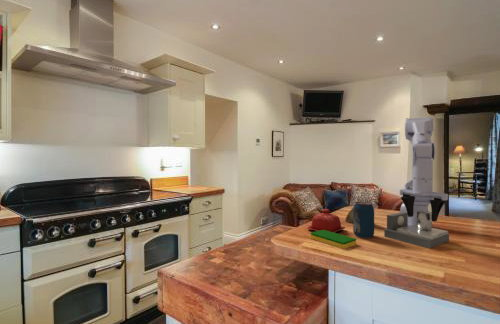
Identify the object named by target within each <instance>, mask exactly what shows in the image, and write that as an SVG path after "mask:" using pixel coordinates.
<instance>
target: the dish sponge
mask: <svg viewBox="0 0 500 324" xmlns="http://www.w3.org/2000/svg"><path fill="white" fill-rule="evenodd" d="M311 238H312V240H314V239H315V241H317V240H318V242H320V241H321V243H323V242H324V244H326V243H327V245H329V244H330V246H333V247H336V248H339V249H343V250H345V249H347V248H351V247H353V246H356V245H357V238H355V237H351V236H347V235H344V234H340V233H337V232H335V233H334V232H330V231H326V230H320V231H312V232H310V239H311Z"/></svg>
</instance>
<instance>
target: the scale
mask: <svg viewBox="0 0 500 324" xmlns="http://www.w3.org/2000/svg"><path fill="white" fill-rule="evenodd" d="M402 226H403V227H405V226H409V225H408V214H407V213H406V212H396V213H391V214H390V213H389V214H387V215H386V229H383V230H384V231H383V232H384V233H383V234H384V235H383V237H385V238H389V239H393V240H397V241H400V242H404V243H408V244H412V245H415V246H418V247H423V248H425V249H426V248H427V249H432V248H434V247H437V246H440V245H442V244H446V243H448V242H450V233H448V234H447V235H444V236H441V237H438V238H435V239H432V240H431V239H426V238H422V237H418V236H414V235H410V234H405V233H401V232H397V229H398V228H401V227H402ZM445 242H446V243H445Z"/></svg>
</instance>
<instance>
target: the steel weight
mask: <svg viewBox="0 0 500 324" xmlns="http://www.w3.org/2000/svg"><path fill="white" fill-rule="evenodd" d="M431 216H432V211H429V210H428V211H417V229H418V230H421V231H432V228H433V221H432V219H431Z"/></svg>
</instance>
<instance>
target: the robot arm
mask: <svg viewBox="0 0 500 324" xmlns="http://www.w3.org/2000/svg"><path fill="white" fill-rule="evenodd" d="M433 131H434V117H432V116H430V117H429V116H428V117H427V116H426V117H414V118H413V117H412V118H411V117H410V118H406V119H404V136H405V139H406V140H407V141H410V145H411V179H409V181H406V183H405V184H404V188H403V189H399V195H400V199H401V201H402V204H401V206H400V212H406V213H407V214H408V225H413V224H415V225H417V211H429V205H430V207H431V208H430V209H431V212H432V216H431V219H432V222H437V221H438V217H439V215H440V212H441V211H442V209H443V207H444V205H445V203H446V201H448V200H449V194H448V193H443V192H436V191H433V189H434V187H433V181H434V160H435V157H436V146H435V143H434V142H433V141H432V136H433Z"/></svg>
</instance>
